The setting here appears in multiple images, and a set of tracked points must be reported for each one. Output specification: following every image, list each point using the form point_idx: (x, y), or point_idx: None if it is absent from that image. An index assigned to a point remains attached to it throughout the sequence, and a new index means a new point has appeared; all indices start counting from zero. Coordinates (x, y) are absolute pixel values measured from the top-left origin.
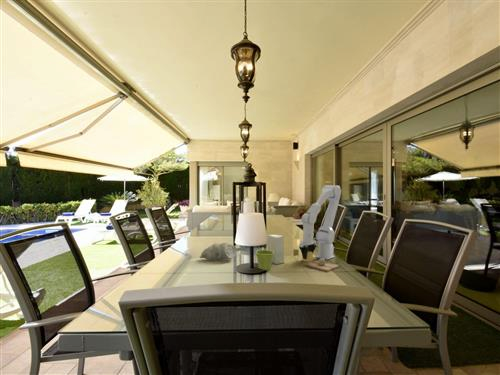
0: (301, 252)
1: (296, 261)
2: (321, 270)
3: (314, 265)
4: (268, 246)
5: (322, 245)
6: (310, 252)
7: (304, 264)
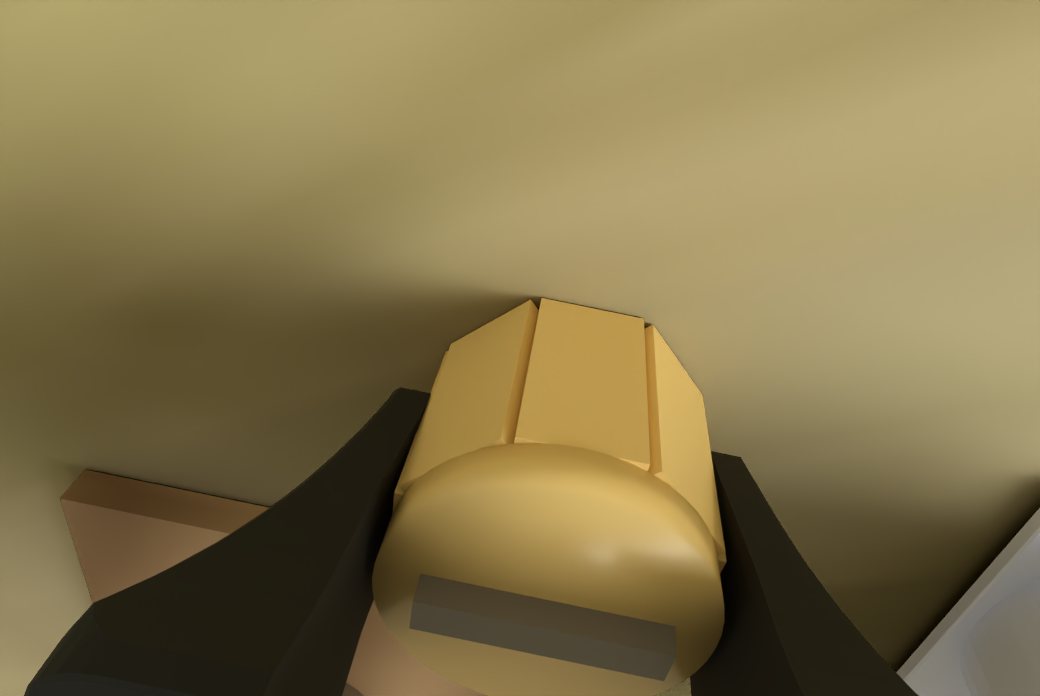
0: (285, 496)
1: (252, 225)
2: None
3: None
4: None
5: None
6: (530, 675)
7: (65, 509)
